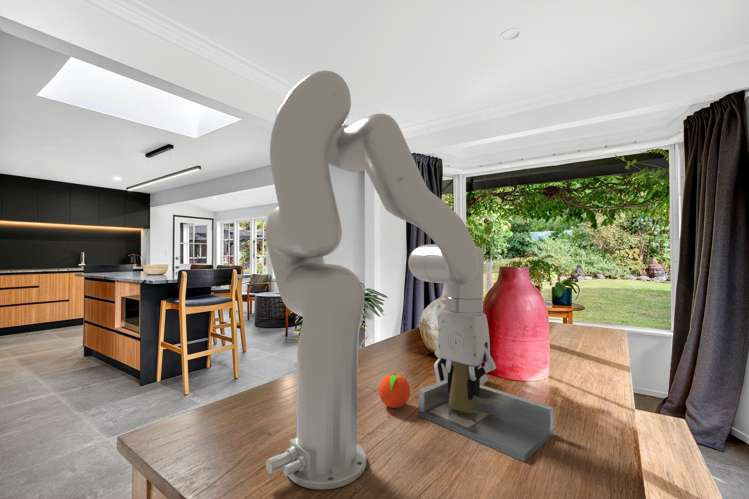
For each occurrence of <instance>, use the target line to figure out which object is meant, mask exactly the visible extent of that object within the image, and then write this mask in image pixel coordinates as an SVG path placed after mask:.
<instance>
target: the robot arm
mask: <svg viewBox="0 0 749 499" xmlns="http://www.w3.org/2000/svg"><path fill="white" fill-rule="evenodd" d="M351 106H352V98H351V92H350V89H349V86H348V84H347V82H346V81H345V79H344V78H343V76H341V75H339V73H337V72H334V71H331V70H319V71H315V72H313V73H311V74H309V75H307V76H305V77H304V78H302V79H301V80H300V81H299V82H298V83H297V84H296V85H295V86H294V87H293V88H292V89H291V90H290V91H289V92H288V94H287V95H286V97H285V99H284V100H283V103H281V105H280V106H279V108H278V110H277V112H276V114H275V120H274V123H273V127H272V131H271V135H270V136H271V137H270V140H269V141H270V142H269V144H270V145H269V158H270V159H269V161H270V170H271V174H272V179H273V184H274V188H275V189H274V190H275V195H276V199H277V204H278V206H277V207H276V208H275V209H274V210H273V211H272V212H271V213H270V215H269V216H268V217H267V221H266V223H265V224H266V225H265V241H266V246H267V247H266V248H267V250H268V254H269V258H270V263H271V268H272V270H273V275H274V278H275V282H276V286H277V290H278V293H279V296H280V299H281V300H282V302H283V304H284V305H285V307H286V308H287V309H288V310H289V311H291V312H292V313H293V314H296V315H298V316H300V317H302V323H301V324H302V325H301V329H300V334H299V337H298V344H297V353H296V368H297V370H296V371H297V372H296V373H297V374H296V375H297V376H296V388H297V389H296V432H295V433H296V434H295V435H296V436H295V437H294V438H293V437H292V438H291V439H289V447H288V448H285V451H284V452H282V453H280V454H276V455H273V456H272V457H269V458H267V459H266V460H265V469H266V470H267V473H268V474H273V473H275V472H277V471H280V470H282V472H283V475H284V477H288V478H289V480H291V481H292V482H293V483H294V484H297V485H298V486H300V487H303V488H306V489H310V490H322V491H324V490H332V489H336V488H341V487H344V486H347V485H349V484H350V483H352V482H354V481H356V480H357V479H358V478H359V477H361V475H362V474H363V473H364V472H365V469H366V468H367V453H366V451H365V450H364V448H363V447H362V446H361V445H360V444H358V393H359V392H358V388H359V387H358V385H359V383H358V380H359V379H358V377H359V376H358V375H359V360H358V359H359V336H360V329H361V323H362V320H363V319H362V317H363V313H364V312H363V311H364V307H365V291H364V287H363V284H362V282H361V280H360V279H359V277H358V276H357V274H355V272H353V271H352V270H350V269H348V268H347V267H345V266H342V265H339V264H332V263H325V260H324V257H326V256H328V255H331V254H332V253H334V251H336V250H337V248H338V247H339V245H340V244H341V241H342V236H343V228H342V222H341V218H340V214H339V213H340V212H339V210H338V205H337V204H338V203H337V201H336V196H335V192H334V187H333V183H332V179H331V173H330V172H331V171H330V166H332V167H334V168H337V169H339V170H342V171H346V172H351V173H360V172H364V171H365V172H366V174H367V175H368V177H369V179H370V181H371V183H372V185H373V187H374V189H375V191H376V193H377V194H378V197H379V199H380V200H381V203H382V206H383V207H384V209H385V210H386V211H387V212H388V213H389V214H392V215H393V216H395V217H397V218H398V219H400V220H403V221H405V222H407V223H409V224H412V225H414V226H415V227H417V228H418V229H421V230H422V231H423V232H424V233H425V234H426V235H428V237H429V238H430V239H431V240H432V241H433V242H434V243H435V244H434V243H432V244H431V243H430V244H428V243H427V244H423V245H419V246H418V247H416V248H414V250H412V251H411V253H410V254H409V257H408V262H407V263H408V269H409V271H410V273H411V274H412V275H413V277H415V278H416V279H418V280H419V281H423V282H428V283H436V284H445V296H444V297H442V298H441V304H444V305H445V309H443V310H442V311H441V315H440V319H439V325H438V330H437V341H436V342H437V346H436V349H435V352H434V355H435V356H436V357H437V359H440V360H441V362H442V364H443V365H444V367H445V371H446V372H447V373H448V392H449V393H450V389H451V382H452V375H453V368H454V366H453V365H452V363H451V361H453V362H457V363H460V364H464V365H468V366H469V373H470V379H469V380H468V384H467V388H468V399H469V400H472V397H473V395H475V396H477V397H478V395H479V393H480V378H481V377H482V376H483V375H485V374H486V375H487V373H489V372H492V371H494V370H496V369H497V365H496V363H495V361H494V359H493V357H492V355H491V354H490V353H491V348H490V347H491V344H490V343H491V342H490V333H489V332H490V331H489V330H490V329H489V325H488V324H489V323H488V318H487V315H486V313H484V266H485V265H484V264H485V263H484V260H485V259H484V258H485V256H484V250H483V249H482V248H481V247H479V246H476V245H475V243H474V240H473V237H472V236H471V234H470V230H469V229H468V227H467V225H466V223H465V222H464V220H463V219H462V218H461V217H460V215H458V214H457V212H456V211H454V210H453V209H452V208H451V206H449V205H448V204H447V203H446V202H444V201H443V200H442V199H441V198H440V197H439V196H438V195H436V194H434V193H433V192H432V191H431V190H430V189H429V188H428V187H427V184H426V182H425V180H424V178H423V176H422V173H421V171H420V170H419V167H418V165H417V164H416V161H415V159H414V156H413V154H412V152H411V150H410V148H409V145H408V143H407V140H406V139H405V137H404V134H403V132H402V130H401V128H400V126H399V124H398V122H397V121H396V119H394V118H393V117H392V116H391V115H389V114H386V113H374V114H370V115H368V116H366V117H363V118H362V119H360V120H359V119H358V121H356V122H354V123H353V124H351V125H347V124H345V123H346V122H347V120H348V118H349V116H350V112H351V108H352V107H351ZM482 363H484V364H485V365H484V366H482Z"/></svg>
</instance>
